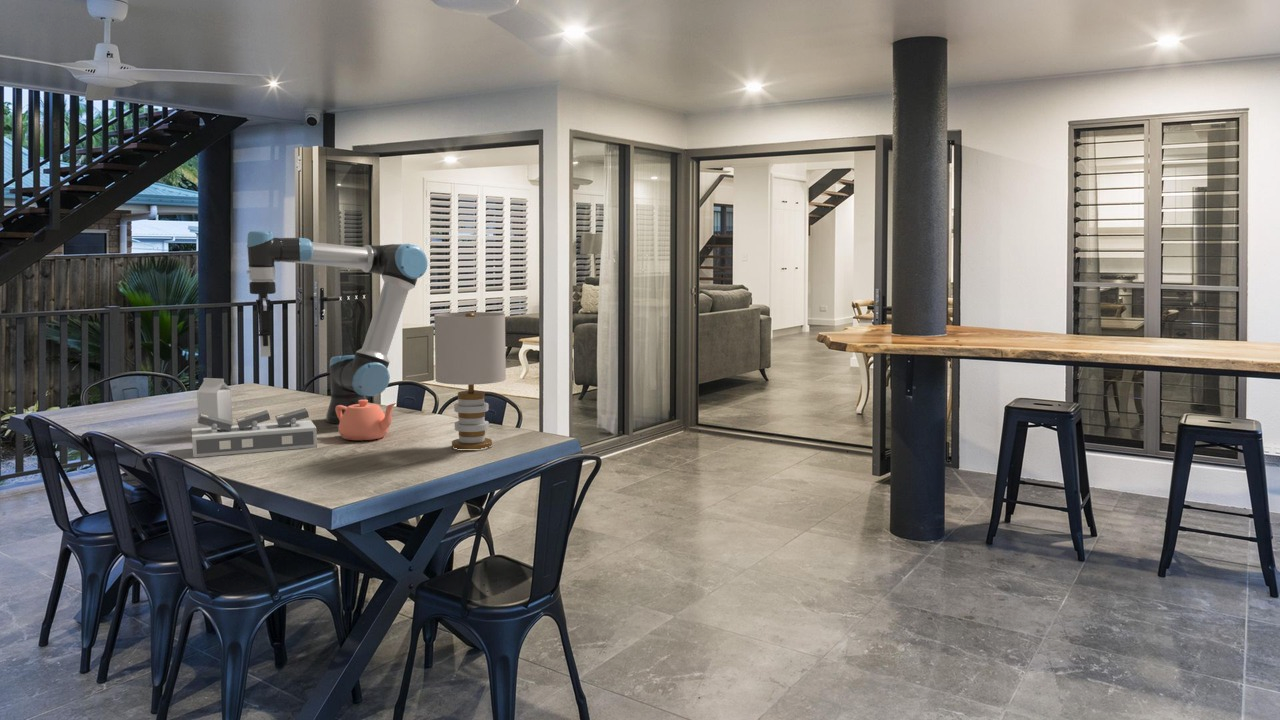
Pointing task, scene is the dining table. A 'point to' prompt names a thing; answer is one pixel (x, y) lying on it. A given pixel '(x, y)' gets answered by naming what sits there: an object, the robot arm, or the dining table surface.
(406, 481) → the dining table surface
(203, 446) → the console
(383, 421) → the teapot
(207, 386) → the milk carton
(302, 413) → the plate
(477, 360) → the lamp
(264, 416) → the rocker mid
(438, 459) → the dining table surface
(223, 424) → the rocker
